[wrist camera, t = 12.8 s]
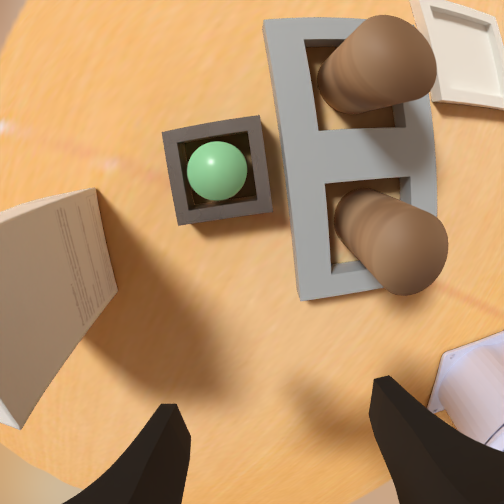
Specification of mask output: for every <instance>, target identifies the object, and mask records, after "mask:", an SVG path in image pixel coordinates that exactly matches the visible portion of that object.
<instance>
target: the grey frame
mask: <svg viewBox="0 0 504 504" xmlns="http://www.w3.org/2000/svg"><path fill="white" fill-rule="evenodd" d="M365 20H367V19H354V18H324V17H313V18H283V19H269V20H264V21H263V29H262V30H263V35H264V41H265V47H266V52H267V58H268V64H269V70H270V77H271V83H272V89H273V96H274V102H275V109H276V116H277V123H278V130H279V137H280V144H281V151H282V159H283V167H284V174H285V182H286V191H287V199H288V207H289V216H290V225H291V234H292V244H293V254H294V264H295V274H296V285H297V292H298V295H299V298H300V301H306V300H313V299H319V298H326V297H332V296H338V295H344V294H350V293H356V292H362V291H367V290H373V289H379V288H384V287H383V286H382V285H381V284H380V283H379V282H378V280H377V279H376V278H375V277H374V276H373V275H372V274H371V273H370V271H369V270H368V269H367V268H366V267H365V266H364V265H363V264H362V263H361V262H360V260H358V261H352V262H345V263H338V264H332V265H331V261H330V244H329V229H328V216H327V204H326V193H325V184H326V183H336V182H346V181H357V180H368V179H380V178H394V177H399V182H400V201H403V202H405V203H408V204H410V205H413V206H415V207H417V208H420V209H422V210H424V211H427V212H429V213H431V214H433V215H434V216H436V217H437V177H436V157H435V144H434V133H433V123H432V115H431V107H430V100H429V94H427V95H425V96H424V97H422V98H420V99H418V100H414V101H409V102H405V103H400V104H396V105H392V108H393V116H394V124H395V128H360V129H340V130H325V131H318V123H317V116H316V109H315V103H314V96H313V90H312V84H311V78H310V72H309V66H308V60H307V55H306V50H305V47H339V46H340V45H341V44H342V43H343V42H344V40H345V39H346V38H347V37H348V36H349V35H350V34H351V33H352V32H353V31H354V30H355V29H356V28H357V27H358V26H359V25H361V24H362V23H363V22H364V21H365ZM412 26H414V25H412Z"/></svg>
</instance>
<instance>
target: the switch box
mask: <svg viewBox="0 0 504 504" xmlns="http://www.w3.org/2000/svg"><path fill="white" fill-rule="evenodd" d="M247 132H248V137H249V144H250V151H251V158H252V165H253V172H254V179H255V186H256V193H257V195H255V196H248V197H241V198H234V199H227V200H220V201H214V202H208V203H201V204H195V205H194V200H193V194H192V188H191V185H190V183H189V180H188V176H187V167H188V165H187V159H186V152H185V146H184V143H187V142H192V141H198V140H203V139H209V138H215V137H221V136H227V135H234V134H240V133H247ZM162 136H163V143H164V149H165V156H166V162H167V168H168V173H169V179H170V185H171V190H172V196H173V201H174V206H175V212H176V217H177V222H178V226H180V225H186V224H192V223H199V222H206V221H212V220H219V219H226V218H233V217H240V216H247V215H254V214H261V213H269V212H273V208H272V200H271V192H270V185H269V177H268V170H267V163H266V155H265V148H264V141H263V134H262V127H261V120H260V115H258V116H250V117H243V118H236V119H229V120H223V121H217V122H211V123H205V124H200V125H195V126H189V127H184V128H180V129H175V130H170V131H165V132H162Z"/></svg>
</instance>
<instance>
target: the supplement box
mask: <svg viewBox="0 0 504 504" xmlns="http://www.w3.org/2000/svg"><path fill="white" fill-rule="evenodd" d="M117 292H118V289H117V285H116V282H115V278H114V274H113V270H112V266H111V262H110V257H109V253H108V249H107V245H106V240H105V235H104V231H103V226H102V221H101V216H100V211H99V205H98V200H97V194H96V189H95V188H88V189H83V190H78V191H73V192H68V193H63V194H59V195H54V196H49V197H45V198H41V199H37V200H34V201H30V202H27V203H23V204H20V205H17V206H15V207H12V208H10V209H7V210H5V211H2V212H0V423H2V424H5V425H8V426H11V427H14V428H16V429H19V430H21V429H22V428H23V426H24V424H25V423H26V421H27V419H28V417H29V416H30V414H31V412H32V411H33V409H34V407H35V406H36V404H37V403H38V401H39V400H40V398H41V396H42V395H43V393H44V392H45V390H46V389H47V387H48V386H49V384H50V383H51V381H52V380H53V379H54V377H55V376H56V374H57V373H58V371H59V370H60V368H61V367H62V366H63V364H64V363H65V361H66V360H67V359H68V357H69V356H70V354H71V353H72V352H73V350H74V349H75V347H76V346H77V345H78V343H79V342H80V341H81V339H82V338H83V337H84V335H85V334H86V332H87V331H88V330H89V328H90V327H91V326H92V324H93V323H94V322H95V321H96V319H97V318H98V317H99V315H100V314H101V313H102V311H103V310H104V309H105V307H106V306H107V305H108V303H109V302H110V301H111V299H112V298H113V297H114V296H115V294H116V293H117Z"/></svg>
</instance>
